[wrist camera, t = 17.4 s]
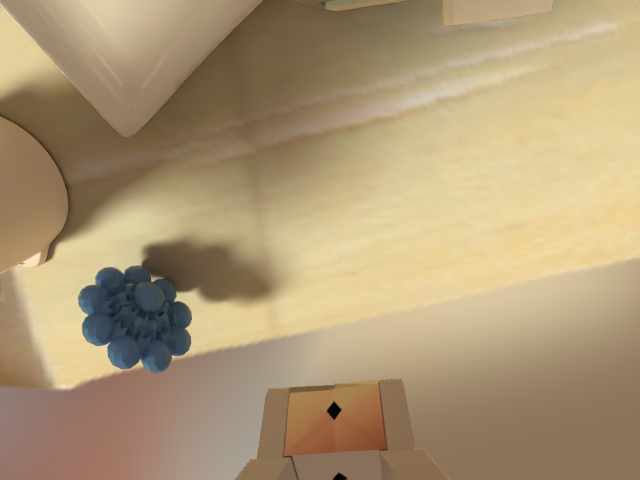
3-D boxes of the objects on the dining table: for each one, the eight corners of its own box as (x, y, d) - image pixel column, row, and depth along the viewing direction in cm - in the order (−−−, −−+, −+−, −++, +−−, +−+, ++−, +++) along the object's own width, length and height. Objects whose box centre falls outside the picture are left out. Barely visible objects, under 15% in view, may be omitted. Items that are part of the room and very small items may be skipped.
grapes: (230, 284, 47) (184, 361, 36) (203, 324, 50) (153, 406, 39) (133, 225, 45) (55, 287, 34) (111, 270, 48) (33, 340, 37)
